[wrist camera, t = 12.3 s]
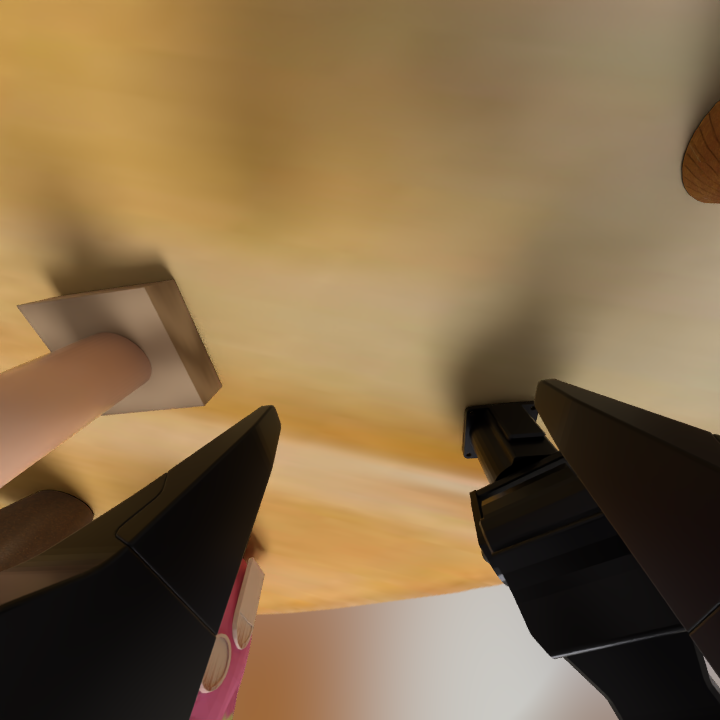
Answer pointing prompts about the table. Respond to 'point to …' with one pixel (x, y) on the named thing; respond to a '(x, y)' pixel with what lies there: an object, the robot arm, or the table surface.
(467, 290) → the table surface
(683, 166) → the disposable coffee cup
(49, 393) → the pillar
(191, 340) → the base
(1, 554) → the plant pot
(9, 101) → the table surface
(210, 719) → the pink dragon fruit
